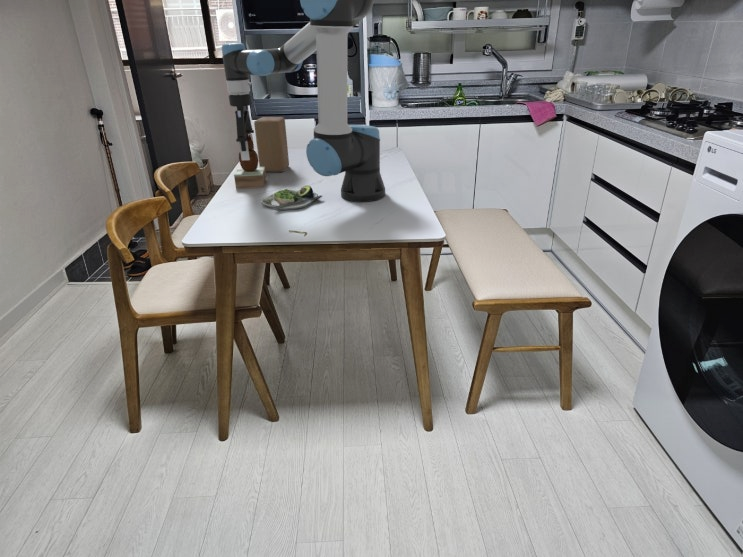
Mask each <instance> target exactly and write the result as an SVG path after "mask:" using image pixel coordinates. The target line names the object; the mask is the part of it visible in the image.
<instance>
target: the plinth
mask: <svg viewBox="0 0 743 557" xmlns="http://www.w3.org/2000/svg"><path fill="white" fill-rule="evenodd" d="M233 177H234V184H235V189H251V188H252V189H253V188H256V189H257V188H265V186H266V182H267V172H266V170H265V167H260V166H258V167H257V169H256V170H255V171H244V170H243V169H242V167H238V168H237V169H236V170H235V173H234V174H233Z"/></svg>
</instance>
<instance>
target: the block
mask: <svg viewBox="0 0 743 557" xmlns="http://www.w3.org/2000/svg"><path fill="white" fill-rule="evenodd" d="M253 125H254V134H255V140H256V148H257V155H258V167H265V170H266V173H283V172H285V171H286V170H287V168H289V166H290V160H289V159H290V158H289V149H288V148H289V147H288V139H287V128H286V127H287V126H286V119H285V117H283V116H262V117H260V118H258V119H256V120H254V123H253Z"/></svg>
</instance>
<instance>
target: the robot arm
mask: <svg viewBox="0 0 743 557" xmlns="http://www.w3.org/2000/svg"><path fill="white" fill-rule="evenodd" d="M299 1H300V6H301V8H302V10H303V13H304V14H305V15H306V16H307V18H309V22H308V23H307V24H305V26H303V27H302V28H301V29H300V30H299V31H297V32H296V34H294V35H293V36H292V37H291V38H290V39H288V40H287V41H286V42H285V43H284V44H283V45H282V46H280V47H279V48H266V49H265V48H264V49H262V48H261V49H246V46H245V44H244V43H241V42H236V43H235V42H233V43H223V44H222V46H221V52H222V63H223V70H224V75H225V82H226V88H227V93H228V94H229V95H228V101H229V106H231V107H236V110H235V112H234V114H235V123H236V124H235V125H236V136H237V138H236V140H235V141H236V142H237V143H239V144H238V146H239V152H241V159H242V161H243V160H250V157H249V150H248V143H247V141H246V140H247V139H246V133H248V137H249V135H250V136H251V140H252V141H253V142H254V137H253V134H255V129H253V127H252V126H253V125H252V121H251V116H250V111H249V106H252V104H253V99H252V94H251V93H250V92H251V87H250V86H252V82H250V77H249V76H257V77H264V76H265V77H266V76H269V75H272V74H273V75H274V74H284V73H285V74H286V73H289V74H290V73H294V72H297V71H299V70H300V69H301V68H302V65H303V64H304V63H303V62H304V61H305V60H306V59H307V58H308V57H310V56H311V55H313V53H315V52H316V76H317V77H316V78H317V79H316V80H317V81H316V83H317V114H318V118H317V120H318V124H316V126H315V127H314V128H313V138H312V139H311V140H310V141H309V142H308V143H307V145H306V151H305V152H306V153H305V154H306V159H307V162H308V163H309V166H310V167H311V168H312V169H313V171H314V172H316V173H317V174H318V175H320V176H322V177H331V176H337V175H339V174H342V173H344V176H343V181H342V184H341V187H340V196H341V198H342V199H344V200H347V201H351V202H357V203H359V202H362V203H363V202H365V203H368V202H374V201H378V200H381V199H383V198H384V197H385V196H386V187H385V183H384V181H383V178H382V175H381V165H380V164H381V162H380V161H381V158H380V156H381V152H380V151H381V150H380V149H381V146H380V145H381V137H380V130H379V129H378V127H376V126H374V125H373V126H372V125H367V124H366V125H364V124H349V123H348V34H349V32H351V30H352V29H353V28H354V27H355V25H357V24H358V23H360V22H361V21H363V20H364V18H366V17H367V16H368V15H369V13H370V11H371V10H372V8H373V6H374V0H299ZM252 150H254V151H255V147H254V148H253V149H252Z"/></svg>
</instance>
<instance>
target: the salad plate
mask: <svg viewBox="0 0 743 557" xmlns="http://www.w3.org/2000/svg"><path fill="white" fill-rule="evenodd" d="M322 198H323V195H321V194H320V195H318V193H316V192H314V191H313V188H312V187H311V185H303V186H302V187H300V189H299V190H296V189H287V188H286V189H285V188H284V189H280V190H278V191H275V192H274V193H272V194H270V195H268V196H266V197H264V198H262V200H261V204H262V205H263V206H264V207H266V208H268V209H273V210H279V211H291V210H298V209H299V210H300V209H303V208H305V207H307V206H309V205H312V204H313V203H315V202H316V201H318V200H319V199H322ZM275 200H276V202H277V203H278V205H276V204H275V205H274V204H272V203H273V201H275Z"/></svg>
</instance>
